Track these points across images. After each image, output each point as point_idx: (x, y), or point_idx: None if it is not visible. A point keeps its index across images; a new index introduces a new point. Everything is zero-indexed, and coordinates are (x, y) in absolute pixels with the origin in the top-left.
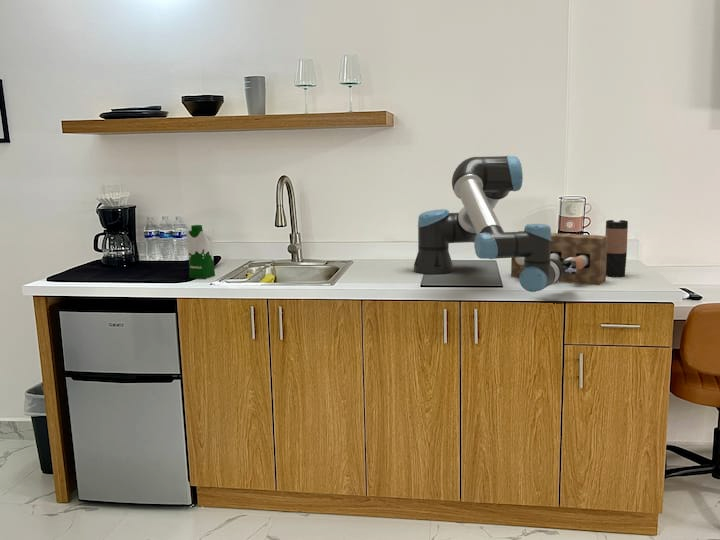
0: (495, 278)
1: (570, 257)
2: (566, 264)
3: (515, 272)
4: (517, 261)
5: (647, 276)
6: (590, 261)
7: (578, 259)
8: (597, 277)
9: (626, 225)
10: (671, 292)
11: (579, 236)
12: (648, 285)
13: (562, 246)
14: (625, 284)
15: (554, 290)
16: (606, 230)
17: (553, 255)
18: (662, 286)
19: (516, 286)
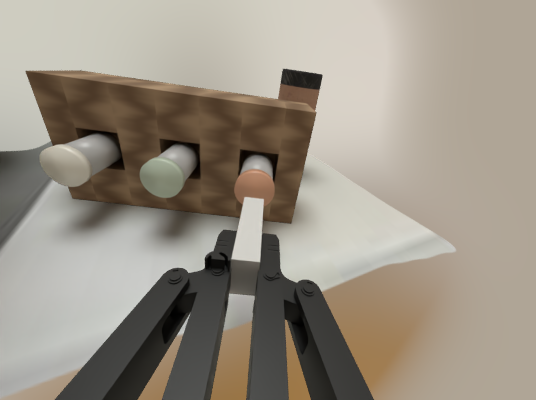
0: (5, 216)
1: (248, 200)
2: (286, 398)
3: (80, 188)
4: (53, 175)
5: (326, 171)
6: (277, 173)
7: (258, 180)
8: (289, 209)
9: (320, 83)
10: (443, 246)
11: (247, 99)
12: (367, 210)
13: (201, 127)
14: (331, 210)
15: (187, 318)
16: (284, 90)
17: (175, 159)
18: (389, 211)
19: (30, 300)
